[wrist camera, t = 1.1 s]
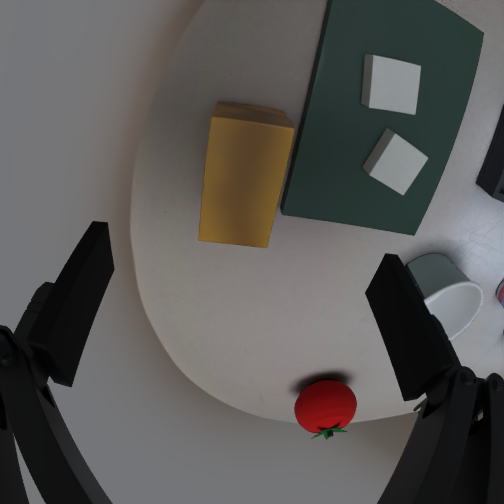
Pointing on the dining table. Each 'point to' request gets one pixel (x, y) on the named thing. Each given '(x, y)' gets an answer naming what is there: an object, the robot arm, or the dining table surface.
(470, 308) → the food container
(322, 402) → the tomato
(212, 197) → the yellow rectangular block
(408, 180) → the white square block
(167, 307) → the dining table surface
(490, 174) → the tray
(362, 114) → the chalkboard
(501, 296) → the pill bottle
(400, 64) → the grey square block
